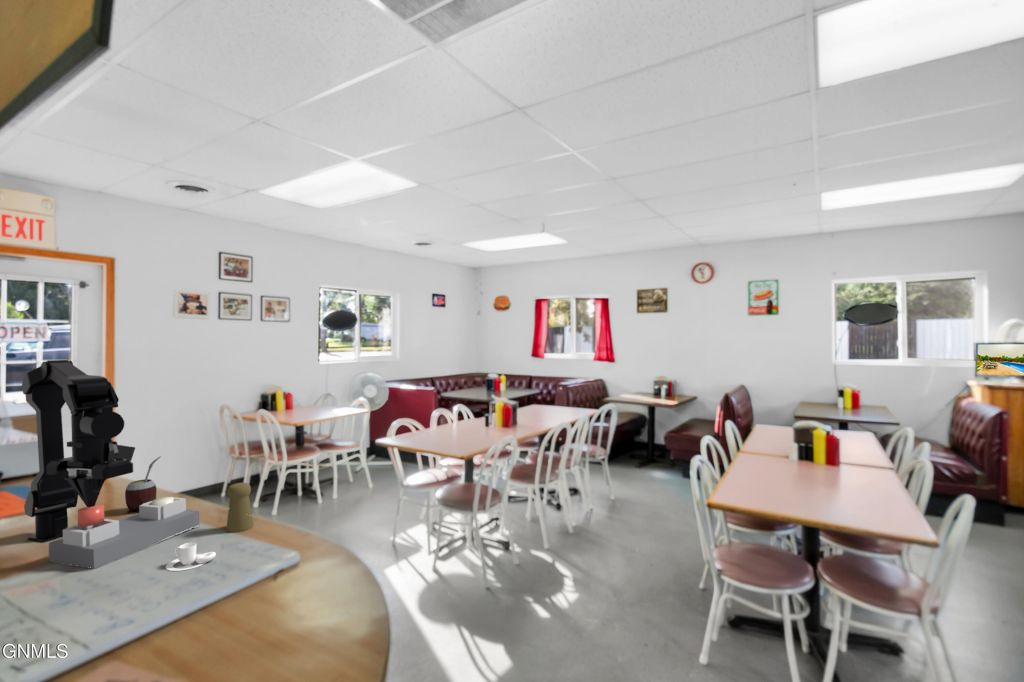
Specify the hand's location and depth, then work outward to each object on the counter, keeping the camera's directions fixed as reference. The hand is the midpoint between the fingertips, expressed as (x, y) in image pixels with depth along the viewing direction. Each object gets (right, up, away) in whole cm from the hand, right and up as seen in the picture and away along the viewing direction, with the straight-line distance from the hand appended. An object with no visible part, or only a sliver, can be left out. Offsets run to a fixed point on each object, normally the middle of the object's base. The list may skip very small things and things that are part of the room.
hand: (90, 506), depth 109 cm
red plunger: (0, -4, 0) cm, 4 cm away
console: (+3, -11, +8) cm, 14 cm away
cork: (+24, -11, +15) cm, 31 cm away
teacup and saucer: (+26, -11, -6) cm, 29 cm away
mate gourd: (-12, -12, +31) cm, 35 cm away
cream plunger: (+5, -7, +15) cm, 17 cm away
